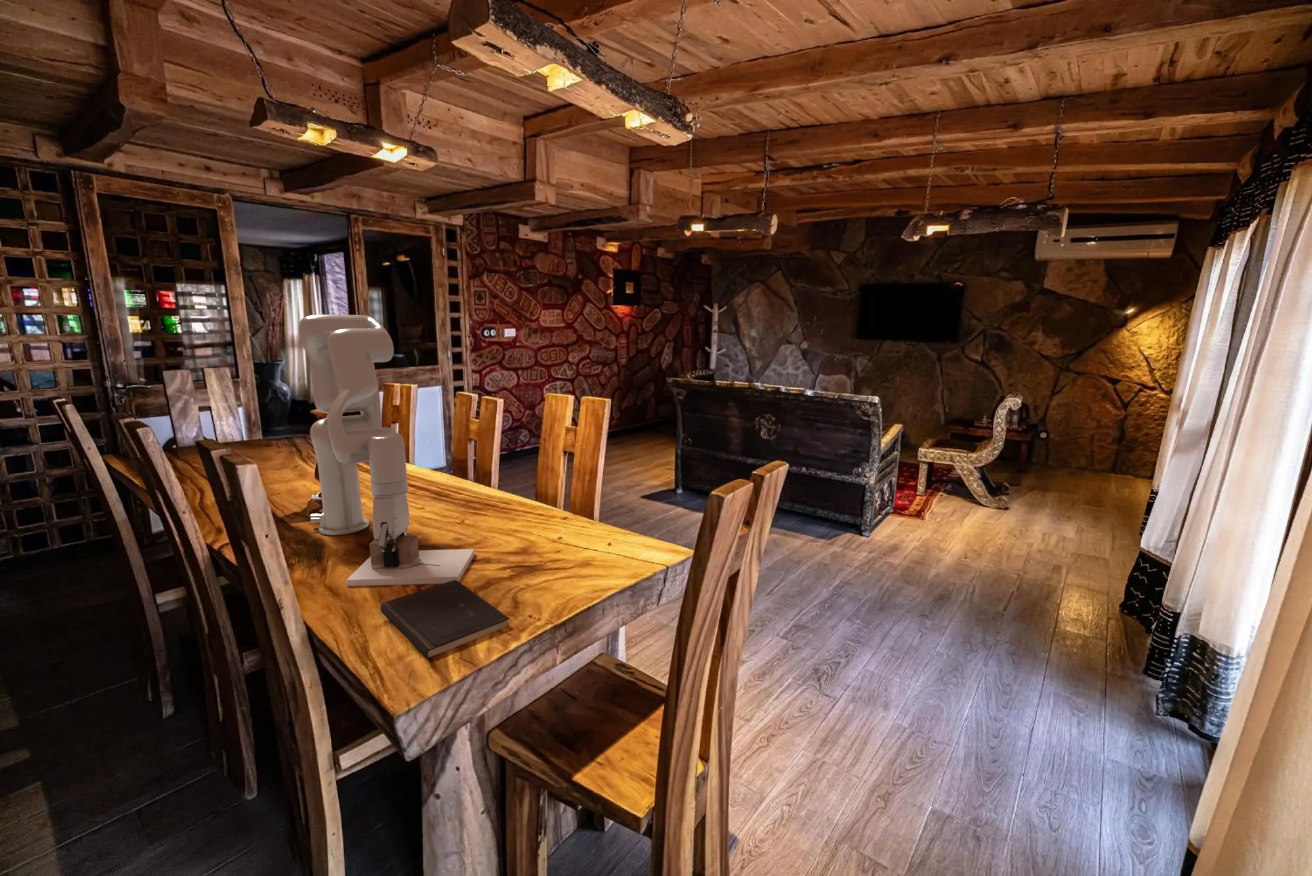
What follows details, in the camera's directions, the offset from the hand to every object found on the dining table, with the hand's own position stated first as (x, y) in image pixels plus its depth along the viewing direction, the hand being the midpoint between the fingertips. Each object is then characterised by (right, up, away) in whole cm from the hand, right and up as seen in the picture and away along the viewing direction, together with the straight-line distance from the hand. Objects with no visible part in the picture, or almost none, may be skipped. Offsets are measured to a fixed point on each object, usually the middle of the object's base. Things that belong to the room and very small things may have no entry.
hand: (396, 560), depth 134 cm
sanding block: (0, -1, 0) cm, 1 cm away
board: (+4, -2, +1) cm, 5 cm away
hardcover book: (+19, -7, -21) cm, 30 cm away
